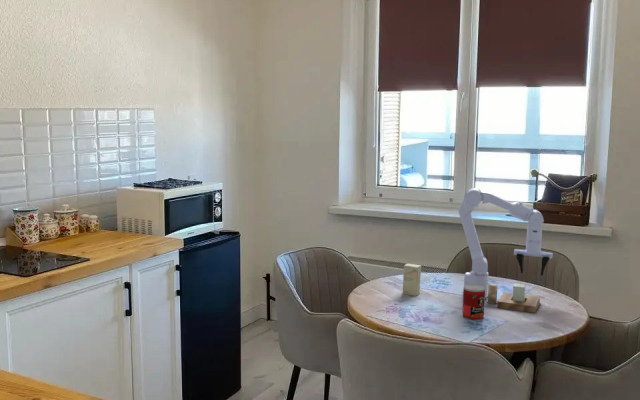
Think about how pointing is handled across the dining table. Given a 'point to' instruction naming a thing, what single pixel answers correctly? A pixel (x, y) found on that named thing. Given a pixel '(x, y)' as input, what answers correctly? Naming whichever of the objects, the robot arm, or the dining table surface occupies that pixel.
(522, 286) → the square peg
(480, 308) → the canned food
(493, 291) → the birch dowel
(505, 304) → the socket block
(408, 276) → the skincare box
